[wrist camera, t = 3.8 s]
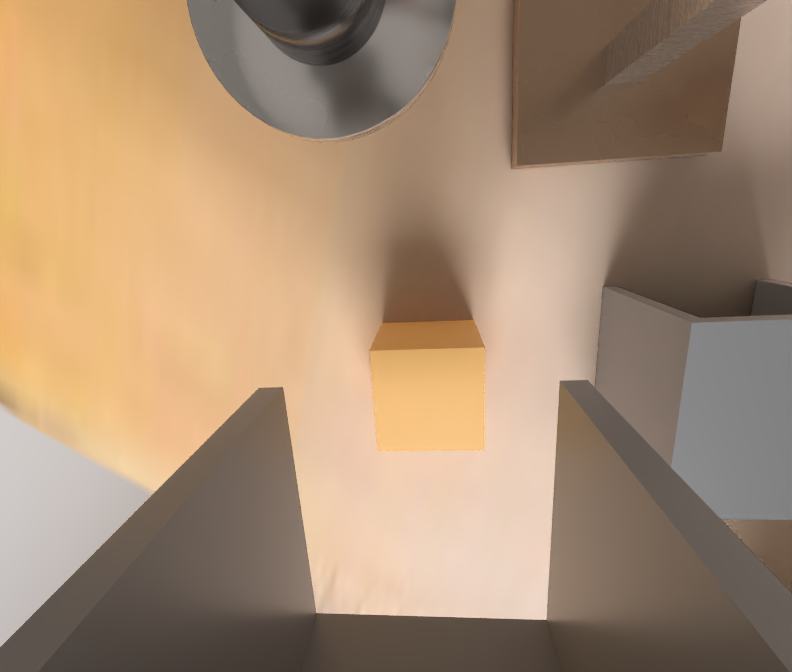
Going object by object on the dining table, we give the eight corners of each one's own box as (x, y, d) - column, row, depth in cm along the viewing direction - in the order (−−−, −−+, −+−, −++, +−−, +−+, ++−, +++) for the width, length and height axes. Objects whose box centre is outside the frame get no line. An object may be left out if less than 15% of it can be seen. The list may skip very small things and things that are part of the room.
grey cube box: (742, 424, 18) (888, 520, 12) (591, 425, 19) (663, 519, 13) (770, 279, 16) (956, 313, 11) (602, 286, 17) (691, 322, 11)
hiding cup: (568, 637, 9) (781, 1291, 4) (298, 628, 10) (121, 1181, 4) (587, 380, 8) (1061, 871, 2) (259, 388, 8) (-130, 779, 3)
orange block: (473, 403, 19) (484, 450, 15) (388, 404, 19) (377, 450, 15) (473, 319, 18) (484, 347, 14) (382, 322, 18) (369, 351, 14)
